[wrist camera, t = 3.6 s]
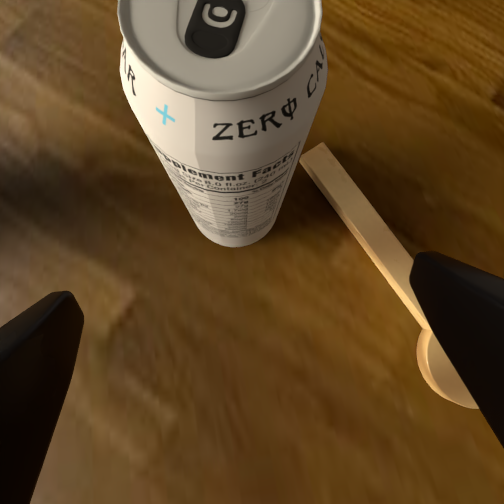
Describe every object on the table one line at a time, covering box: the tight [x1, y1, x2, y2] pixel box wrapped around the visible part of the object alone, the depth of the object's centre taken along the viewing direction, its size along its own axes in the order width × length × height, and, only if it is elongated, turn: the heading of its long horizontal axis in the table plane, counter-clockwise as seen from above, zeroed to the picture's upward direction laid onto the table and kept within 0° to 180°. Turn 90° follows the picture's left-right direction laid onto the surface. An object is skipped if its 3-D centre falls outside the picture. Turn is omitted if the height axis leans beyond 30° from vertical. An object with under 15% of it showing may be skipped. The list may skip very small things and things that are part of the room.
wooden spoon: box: [299, 142, 479, 409], centre depth 21 cm, size 20×6×1 cm, turn 34°
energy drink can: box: [118, 0, 328, 247], centre depth 14 cm, size 6×6×15 cm
